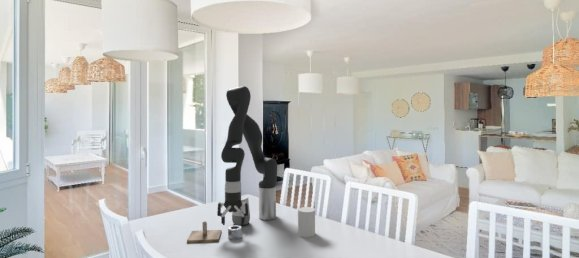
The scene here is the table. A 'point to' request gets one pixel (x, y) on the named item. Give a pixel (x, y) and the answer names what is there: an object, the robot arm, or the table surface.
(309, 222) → the cup
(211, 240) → the post stand
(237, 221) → the smart speaker
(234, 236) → the ring
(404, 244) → the table surface
